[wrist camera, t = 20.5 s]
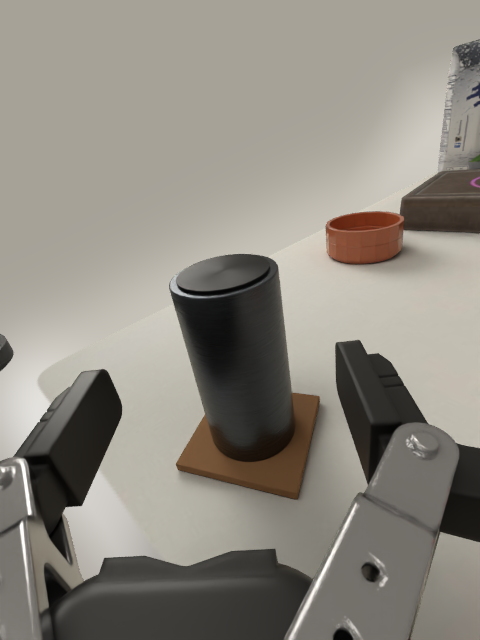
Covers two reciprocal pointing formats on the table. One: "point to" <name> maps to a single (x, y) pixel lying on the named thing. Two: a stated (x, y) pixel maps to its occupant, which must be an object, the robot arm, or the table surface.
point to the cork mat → (264, 475)
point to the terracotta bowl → (364, 237)
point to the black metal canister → (238, 352)
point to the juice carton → (462, 111)
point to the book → (444, 203)
